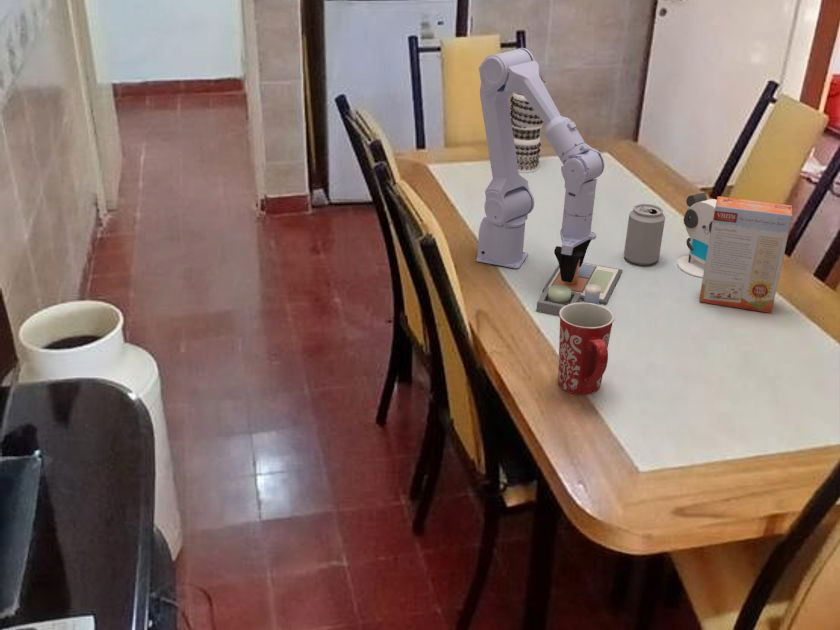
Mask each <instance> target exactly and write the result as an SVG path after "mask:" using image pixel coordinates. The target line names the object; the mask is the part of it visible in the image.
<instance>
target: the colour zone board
mask: <svg viewBox="0 0 840 630" xmlns="http://www.w3.org/2000/svg"><path fill="white" fill-rule="evenodd" d="M621 273H623V269H621V268H617V267H616V268H615V267H610V266H609V267H608V266H605V265H604V266H603V265H598V264H593V263H587V262H583V263H582V265H581V267H579V273H578V283H577V284H576V285H567V284H565V283H564V281H562V280H561V274H560V267H559V264H557V266H556V268H555V270H554V272H553V273H552V275H551V276H550V278H549V279H548V281H547V283H546V284H545V285H544V287H543V288H542V293H543V292H544V290H545V289H546V287H551V286H553V285H564V286H567V287H569V288H570V289H571V292H576V293H581V298H580V301H583V302H584V297H585V287H586V285H588V284H596V285H599V286H600V287H601V291H600V297H599V305H602V306H603V305H604V306H607V305H608V303H609V300H610V298H611V295H612V294H613V292H614V290H615V287H616V286H617V284H618V281H619V280H620V277H621V276H620V275H622V274H621Z"/></svg>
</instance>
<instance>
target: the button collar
mask: <svg viewBox="0 0 840 630" xmlns="http://www.w3.org/2000/svg"><path fill="white" fill-rule="evenodd" d="M548 291H549V287H546V289H545V290H544V292H543V293H542V294H541V295H540V297H539V298H538V300H537V302H536V309H535V311H536V312H539V313H540V312H541V313H545V314H550V315H555V316H559V311H560V309H561V308H562V307H564V306H566V305H567V304H558V303H553V302H550V301H549V300H548ZM580 298H581V293H576V292H571V300H570V302H569V304H572V303H581V300H580Z"/></svg>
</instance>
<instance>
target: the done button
mask: <svg viewBox="0 0 840 630" xmlns="http://www.w3.org/2000/svg"><path fill="white" fill-rule="evenodd" d="M570 300H571V289H570V288H569V287H567V286H564V285H553V286H551V287H549V291H548V302H553V303H558V304H563V305H568V303H569V302H570ZM569 304H570V303H569Z"/></svg>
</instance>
